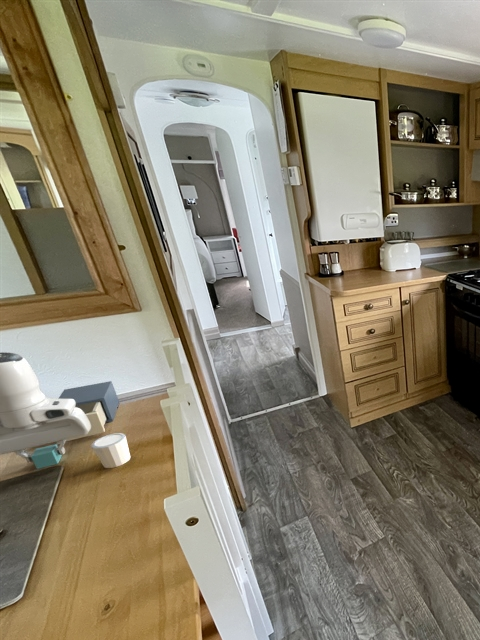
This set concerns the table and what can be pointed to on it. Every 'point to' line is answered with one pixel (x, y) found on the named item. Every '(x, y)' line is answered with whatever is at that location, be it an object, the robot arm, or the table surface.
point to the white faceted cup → (112, 450)
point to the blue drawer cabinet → (95, 396)
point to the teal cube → (45, 456)
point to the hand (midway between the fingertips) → (47, 457)
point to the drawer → (93, 417)
